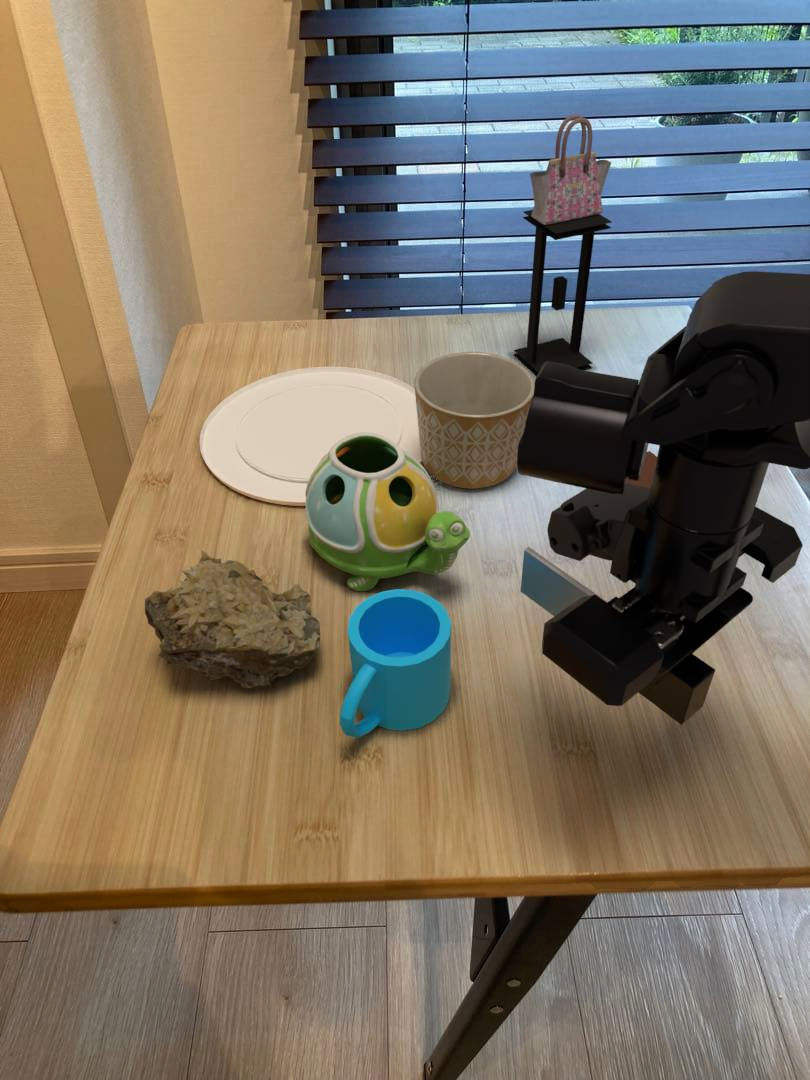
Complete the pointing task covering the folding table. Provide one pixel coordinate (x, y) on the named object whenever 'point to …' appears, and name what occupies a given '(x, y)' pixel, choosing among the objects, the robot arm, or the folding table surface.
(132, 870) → the folding table surface
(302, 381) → the plate
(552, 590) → the knife
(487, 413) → the planter
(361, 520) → the turtle holder
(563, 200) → the handbag
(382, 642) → the mug
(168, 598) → the mineral specimen
